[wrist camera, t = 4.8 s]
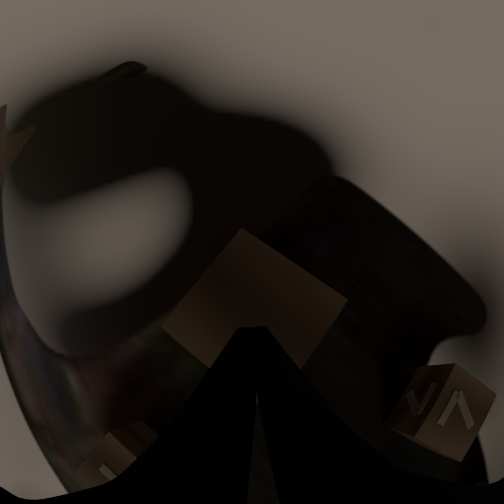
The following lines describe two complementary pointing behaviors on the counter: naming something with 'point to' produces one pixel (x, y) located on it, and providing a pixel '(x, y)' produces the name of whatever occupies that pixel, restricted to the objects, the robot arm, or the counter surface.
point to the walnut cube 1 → (116, 453)
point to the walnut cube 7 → (442, 409)
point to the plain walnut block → (254, 302)
